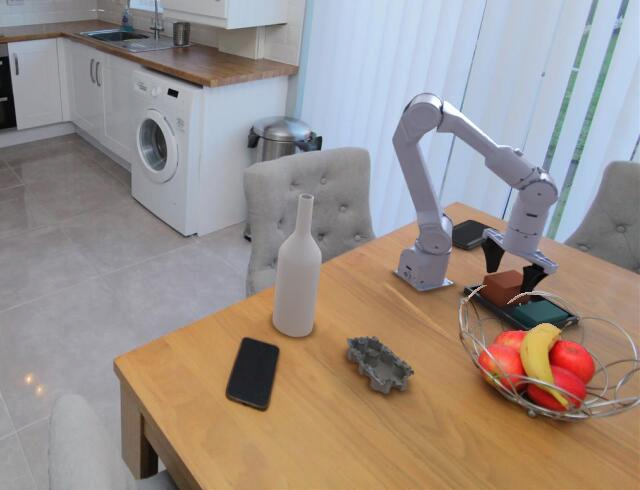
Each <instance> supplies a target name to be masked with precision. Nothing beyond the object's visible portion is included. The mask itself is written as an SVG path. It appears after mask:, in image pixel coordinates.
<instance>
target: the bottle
mask: <svg viewBox="0 0 640 490" xmlns="http://www.w3.org/2000/svg"><path fill="white" fill-rule="evenodd" d="M314 200H315V197H314V195H313V194H310V193H301V194H299V196H298V202H297V203H298V204H297V211H296V212H297V214H296V221H295V227H294V231H293V233H291V234H290V236H288V237H287V238H286V239H285V240H284V242H283V243H282V244H281V245H280V246H279V250H278V255H277V265H276V266H277V267H276V275H275V276H276V277H275V286H274V287H275V288H274V297H273V298H274V300H273V309H272V324H273V326H274V327H275V328H276V330H277V331H279V333H281V334H283V335H285V336H288V337H292V338H303V337H307V336H308V335H310V334H311V333H312V331H313V329H314V322H315V315H316V307H317V299H318V294H319V293H318V292H319V284H320V276H321V269H322V260H323V258H322V257H323V256H322V251H321V249H320V248H319V246H318V244H317V243H316V241H315V239H314V237H313V236H312V234H311V229H312V217H313V211H314Z"/></svg>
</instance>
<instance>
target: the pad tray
mask: <svg viewBox="0 0 640 490" xmlns="http://www.w3.org/2000/svg"><path fill="white" fill-rule="evenodd" d="M482 284H483V282H481V283H476V284H472V285H467V286H464V288H463V293H464V294H465V295H466V296H468V295H470V294H471V293H472V292H473V291H474V290H475V289H477V288H478V287H480V286H482ZM480 291H481V289H480V290H479V291H477V292H476V293H475V294H474V295H473V296H472V297H470V299H472V300H473V301H474V302H476V303H478V304H479V305H480V306H482V307H483V308H484V309H486V310H488V311H489V312H490V313H492V314H493V315H494V316H496V317H497V318H498V319H500V320H502V319H503V320H502V321H503V322H504V323H506V324H507V325H509V326H510V327H511V328H512V329H514V330H515V331H517V330H522V331H529V330H531V329H532V328H534V327H536V326H533V327H529V328H527V327H526V326H524V325H523V324H522V323H520V322H519V321H517V320H516V319H514V318H513V317H512V315H513V312H514V309H515V307H518V306H520V305H519V303H517V304H513V305H508V306H504V307H500V308H499V307H497V306H496V305H494V304H493V303H491V302H490V301H488V300H487V299H486V298H484V297H483V296H481V295H480ZM532 291H536V290H535V288H534V289H533V290H532ZM542 295H543V294H542ZM542 295H530V298H529V301H526V302H521V306H522V305H527V304H531V303H535V302H540V301H544V300H546V301H548V302H549V303H551V304H553V305H554V306H556V307H557V308H559V309H561V310H562V311H564V312H566V313H567V314H568V316H567V318H566V319H562V320H558V321H554V322H550V324H552V325H554V326H556V327H557V328H559V329H563V328H565V327H564V326H565V325H566V324H567V323H568V322H569V321H572V323H571V324H570V325H569V326H568V327H571V326H574V325H578V324H579V321H580V319H581V317H580V316H578V315H577V314H575V313H573V312H572V311H570V310H568V309H567V308H565V307H563V306H562V305H560V304H559V303H557V302H555V301H553V300H552V299H551V298H549V297H547V296H546V295H544V296H542ZM577 318H580V319H579V320H577Z"/></svg>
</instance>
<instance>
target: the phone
mask: <svg viewBox="0 0 640 490" xmlns="http://www.w3.org/2000/svg"><path fill="white" fill-rule="evenodd" d="M490 228H491V229H493V230H496V231H498V232H500V230H499V229H496V228H494V227H492V226H489V225H488V224H485V223H482V222H480V221H477V220H474V219H467V220H465V221H462V222H460V223H457V224H456V225H453V230H452V245H454V246H456V247H458V248H461V249H462V250H465V251H467V250H471V249H473V248H475V247H478V246H481V242H484V241H486V240H487V239H485V238H483V237H482V235H483V231H484V230H485V229H490Z"/></svg>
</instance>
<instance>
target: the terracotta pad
mask: <svg viewBox="0 0 640 490" xmlns="http://www.w3.org/2000/svg"><path fill="white" fill-rule="evenodd" d="M522 281H523V273H521V272H519V271H517V270H515V269H510V270H505V271H500V272H495V273H490V274H486V275H484V277H483V281H482V283H483V284H482V285H487V286H485V287H483V288H481V291H480V295H481V296H483V297H484V298H486V299H487V300H488V301H490V302H491V303H493V304H494V305H496V306H497V307H499V308H500V307H504V306H508V305H513V304H517V303H521V302H526V301H529V298H530V295H524V296H521V297H519V298H518V299H516V300H514V301H513V302H511V303H509V304H507V303H508V302H509V301H510V300H511V299H513V298H514V297H515V296H517V295H519V294H520V288H521V285H522Z"/></svg>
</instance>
